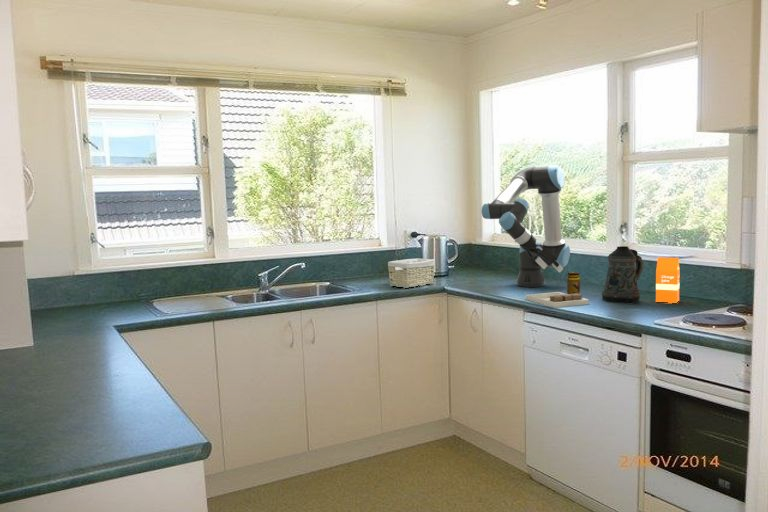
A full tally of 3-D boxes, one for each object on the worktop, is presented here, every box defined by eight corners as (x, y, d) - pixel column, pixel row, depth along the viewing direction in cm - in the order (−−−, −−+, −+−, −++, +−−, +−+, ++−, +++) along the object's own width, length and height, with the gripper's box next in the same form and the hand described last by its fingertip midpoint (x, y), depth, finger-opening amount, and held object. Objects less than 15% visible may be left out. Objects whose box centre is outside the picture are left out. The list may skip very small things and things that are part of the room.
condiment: (580, 298, 299) (580, 273, 298) (562, 298, 301) (562, 273, 300) (580, 295, 306) (580, 271, 304) (562, 295, 308) (562, 271, 307)
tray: (525, 300, 298) (525, 295, 298) (558, 297, 304) (558, 291, 303) (554, 308, 275) (554, 303, 275) (589, 305, 281) (589, 299, 281)
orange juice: (677, 303, 277) (677, 258, 275) (655, 302, 282) (655, 258, 280) (679, 300, 284) (680, 257, 282) (658, 299, 288) (658, 256, 286)
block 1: (549, 304, 282) (549, 296, 282) (557, 303, 283) (557, 295, 283) (554, 306, 278) (554, 297, 278) (562, 305, 280) (562, 296, 279)
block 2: (559, 303, 283) (559, 295, 283) (566, 302, 285) (565, 294, 285) (565, 305, 280) (565, 296, 279) (572, 304, 281) (572, 295, 281)
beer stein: (596, 302, 288) (596, 248, 285) (611, 295, 302) (611, 244, 300) (633, 305, 277) (633, 249, 274) (647, 298, 292) (647, 245, 289)
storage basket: (416, 282, 370) (415, 257, 368) (437, 284, 358) (436, 258, 356) (387, 287, 354) (386, 261, 352) (407, 290, 342) (406, 263, 340)
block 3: (569, 302, 285) (569, 294, 285) (577, 302, 286) (577, 293, 286) (573, 304, 282) (573, 295, 281) (581, 303, 282) (581, 294, 282)
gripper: (507, 243, 304) (534, 271, 310) (534, 247, 280) (563, 277, 286) (516, 231, 305) (543, 260, 311) (544, 234, 281) (573, 265, 287)
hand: (553, 268), depth 299 cm, fingers open, 13 cm apart
